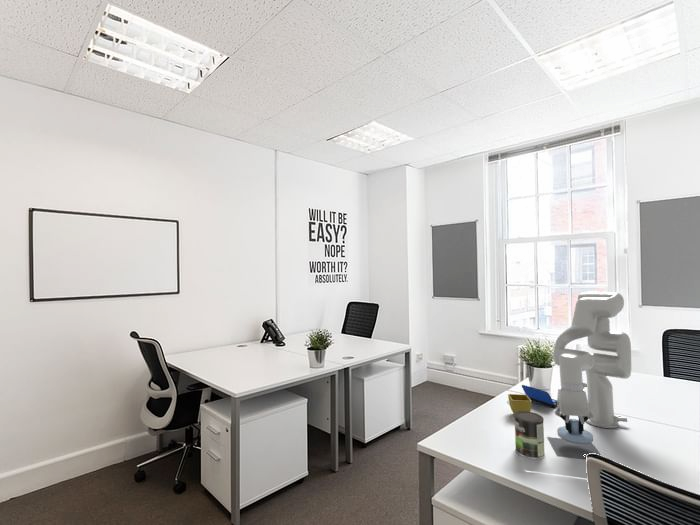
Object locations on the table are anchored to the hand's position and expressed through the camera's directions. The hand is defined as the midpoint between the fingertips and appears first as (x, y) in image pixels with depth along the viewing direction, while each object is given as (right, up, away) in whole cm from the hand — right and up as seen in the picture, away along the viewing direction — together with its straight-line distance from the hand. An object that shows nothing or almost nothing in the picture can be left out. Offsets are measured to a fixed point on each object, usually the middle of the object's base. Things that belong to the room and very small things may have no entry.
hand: (574, 431), depth 138 cm
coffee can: (-19, -7, -2) cm, 20 cm away
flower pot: (-6, -8, +32) cm, 34 cm away
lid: (0, -2, 0) cm, 2 cm away
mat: (-1, -7, -1) cm, 7 cm away
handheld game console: (+14, -8, +48) cm, 51 cm away
